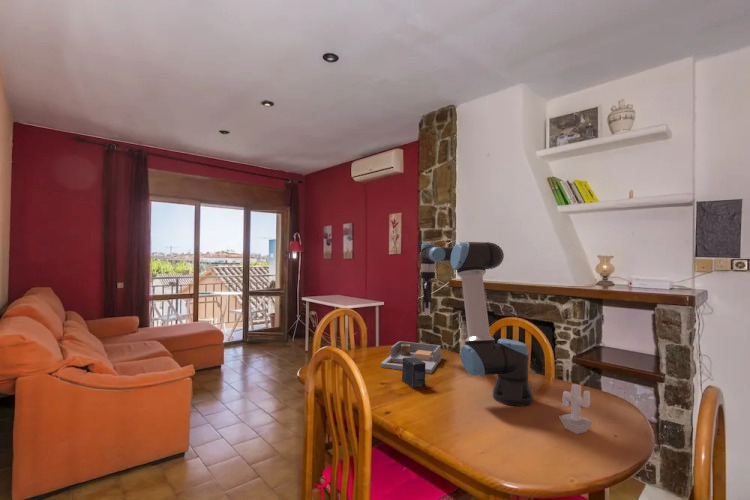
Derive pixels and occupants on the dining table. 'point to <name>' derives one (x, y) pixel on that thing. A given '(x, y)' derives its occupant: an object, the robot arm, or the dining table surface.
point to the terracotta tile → (423, 355)
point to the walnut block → (405, 349)
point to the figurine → (576, 410)
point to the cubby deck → (414, 347)
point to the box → (413, 372)
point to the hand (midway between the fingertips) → (427, 313)
